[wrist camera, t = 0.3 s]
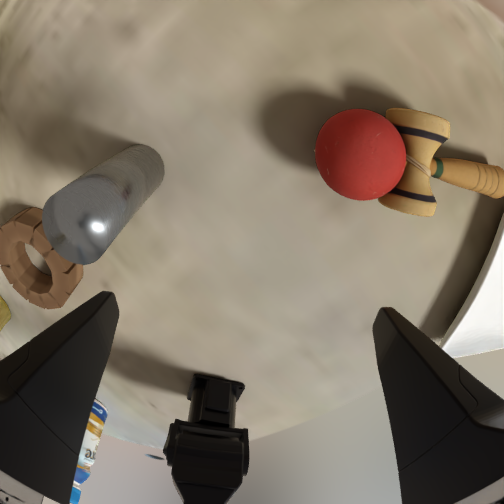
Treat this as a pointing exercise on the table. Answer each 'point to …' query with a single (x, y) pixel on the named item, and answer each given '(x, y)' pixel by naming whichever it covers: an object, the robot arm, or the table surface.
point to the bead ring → (25, 273)
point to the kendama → (396, 159)
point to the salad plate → (481, 309)
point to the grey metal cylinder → (101, 203)
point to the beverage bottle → (88, 448)
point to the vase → (4, 313)
